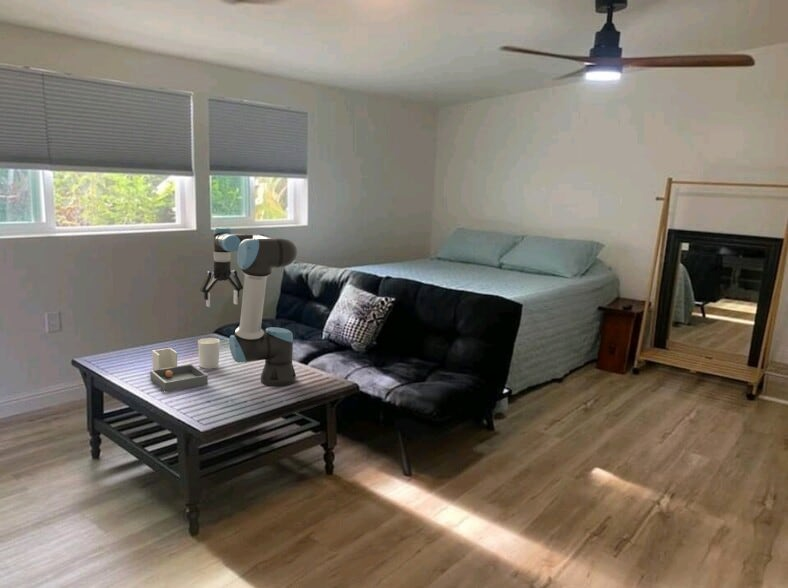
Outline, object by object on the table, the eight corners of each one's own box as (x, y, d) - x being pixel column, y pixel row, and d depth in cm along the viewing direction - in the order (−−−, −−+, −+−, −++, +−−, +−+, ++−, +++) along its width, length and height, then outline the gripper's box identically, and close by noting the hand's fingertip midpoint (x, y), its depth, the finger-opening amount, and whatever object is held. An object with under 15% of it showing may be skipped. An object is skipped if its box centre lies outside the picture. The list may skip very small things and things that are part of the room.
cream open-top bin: (177, 371, 249) (177, 352, 247) (158, 375, 244) (158, 355, 242) (170, 367, 255) (170, 348, 253) (152, 369, 249) (152, 350, 248)
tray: (207, 384, 236) (207, 375, 235) (165, 392, 224) (164, 382, 224) (191, 372, 249) (191, 364, 248) (150, 379, 237) (150, 370, 237)
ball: (174, 374, 241) (168, 378, 240) (169, 369, 241) (163, 373, 239) (174, 374, 238) (168, 378, 237) (169, 368, 238) (163, 373, 237)
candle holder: (193, 367, 256) (193, 342, 253) (205, 361, 265) (205, 336, 263) (212, 370, 253) (212, 344, 251) (224, 364, 263) (224, 339, 261)
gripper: (243, 258, 272) (242, 301, 275) (192, 260, 255) (192, 306, 259) (250, 260, 266) (250, 304, 270) (199, 262, 250) (199, 309, 254)
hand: (222, 305), depth 265 cm, fingers open, 13 cm apart
